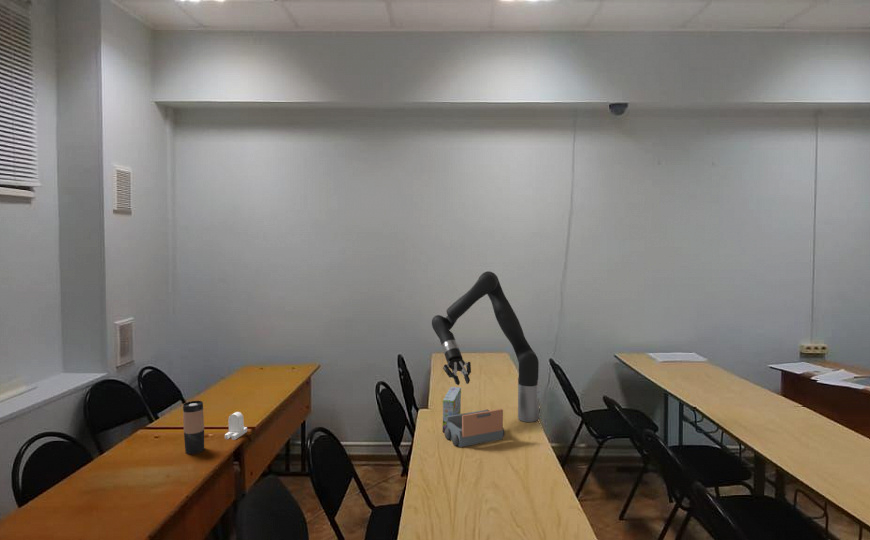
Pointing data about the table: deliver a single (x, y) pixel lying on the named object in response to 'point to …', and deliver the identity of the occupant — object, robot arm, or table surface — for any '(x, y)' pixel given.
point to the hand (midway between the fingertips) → (463, 383)
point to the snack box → (451, 404)
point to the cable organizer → (236, 426)
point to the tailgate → (482, 422)
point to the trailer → (455, 434)
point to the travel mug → (193, 427)
